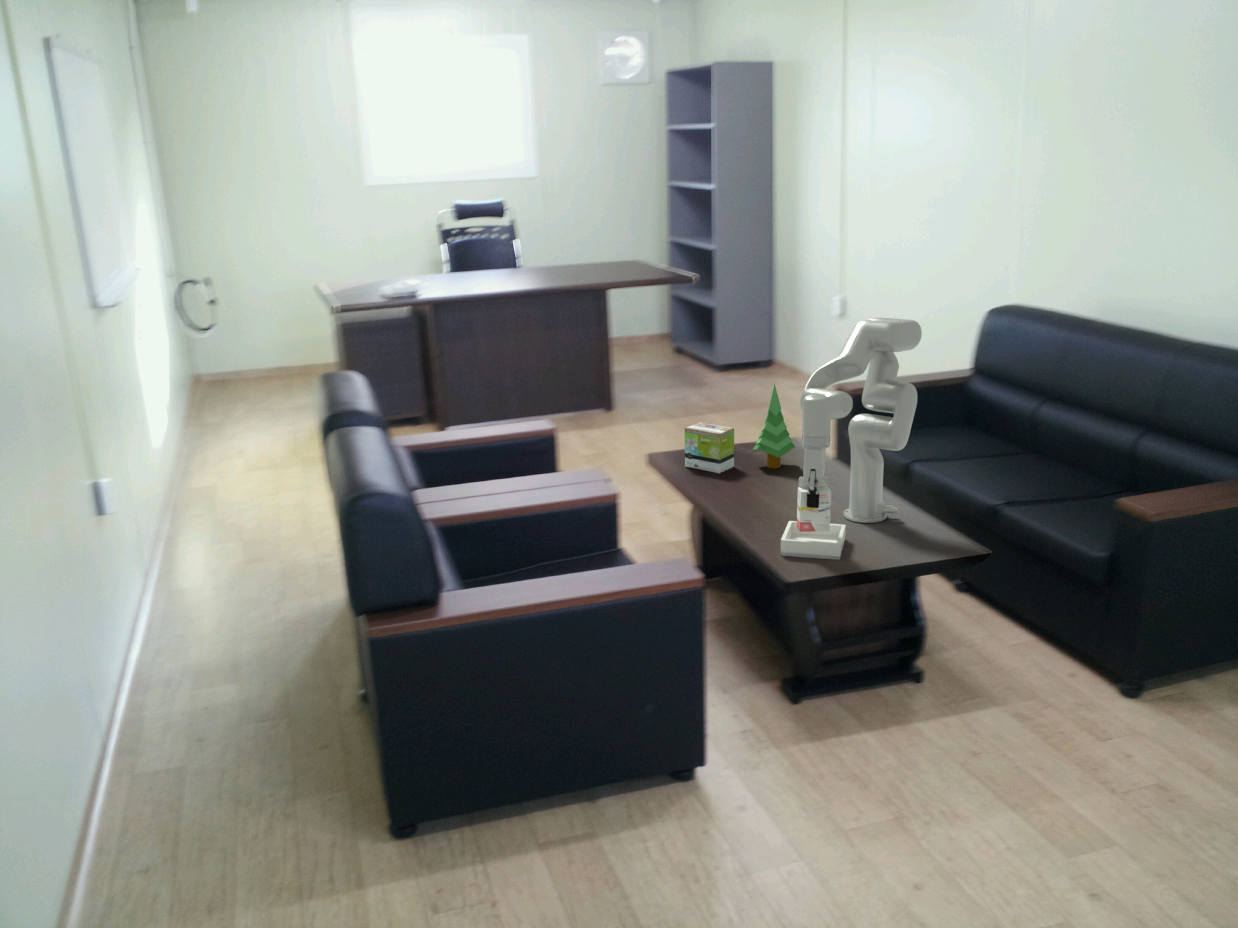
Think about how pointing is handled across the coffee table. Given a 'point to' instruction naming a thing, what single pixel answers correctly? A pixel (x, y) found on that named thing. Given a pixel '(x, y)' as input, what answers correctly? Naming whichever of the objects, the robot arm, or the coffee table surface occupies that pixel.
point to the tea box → (709, 447)
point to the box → (813, 542)
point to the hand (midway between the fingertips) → (814, 502)
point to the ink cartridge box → (818, 516)
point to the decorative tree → (774, 434)
